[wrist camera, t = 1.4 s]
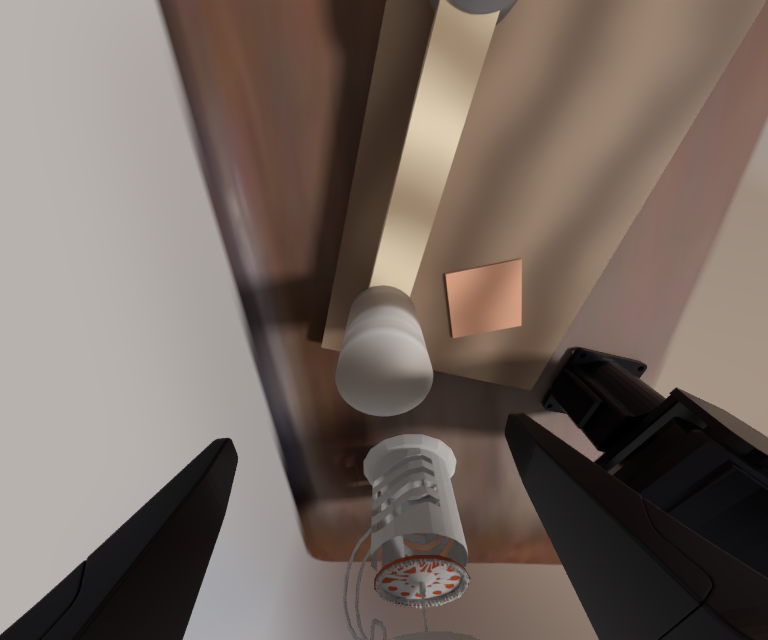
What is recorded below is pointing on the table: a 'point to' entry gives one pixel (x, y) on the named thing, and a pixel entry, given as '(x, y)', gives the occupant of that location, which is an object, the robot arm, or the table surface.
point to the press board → (532, 166)
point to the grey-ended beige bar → (415, 216)
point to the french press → (413, 530)
